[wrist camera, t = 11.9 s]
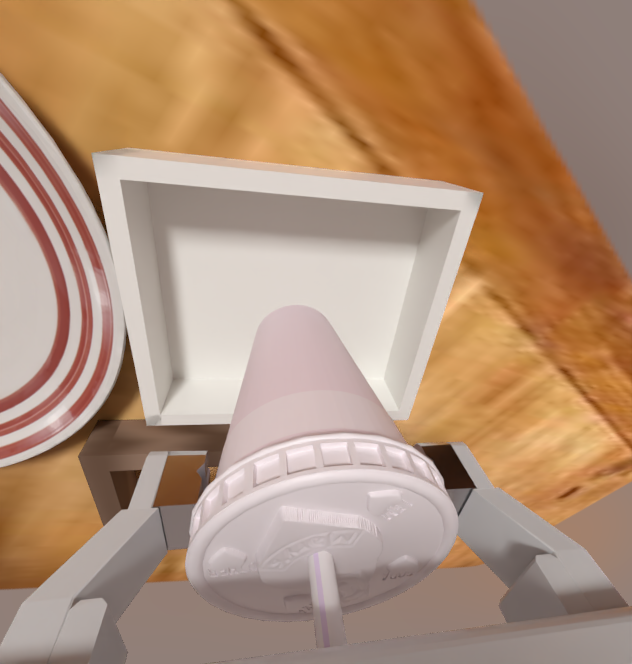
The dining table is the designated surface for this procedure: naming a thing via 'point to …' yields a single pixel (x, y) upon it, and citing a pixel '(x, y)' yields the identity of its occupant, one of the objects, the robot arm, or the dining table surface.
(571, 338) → the dining table surface
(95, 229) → the dinner plate
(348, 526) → the smoothie
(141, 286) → the tray
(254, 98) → the dining table surface
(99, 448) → the socket block
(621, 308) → the dining table surface
